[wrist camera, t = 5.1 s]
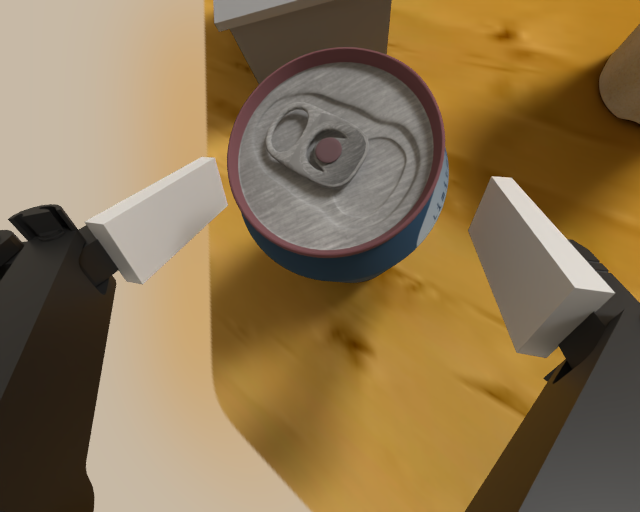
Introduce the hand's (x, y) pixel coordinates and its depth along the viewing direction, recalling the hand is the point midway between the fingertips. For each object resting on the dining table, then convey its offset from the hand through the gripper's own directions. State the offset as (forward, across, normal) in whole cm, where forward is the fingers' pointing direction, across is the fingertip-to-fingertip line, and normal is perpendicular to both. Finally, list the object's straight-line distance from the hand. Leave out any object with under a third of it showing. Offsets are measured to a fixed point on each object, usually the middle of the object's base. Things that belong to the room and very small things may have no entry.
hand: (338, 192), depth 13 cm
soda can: (+4, 0, -5) cm, 6 cm away
